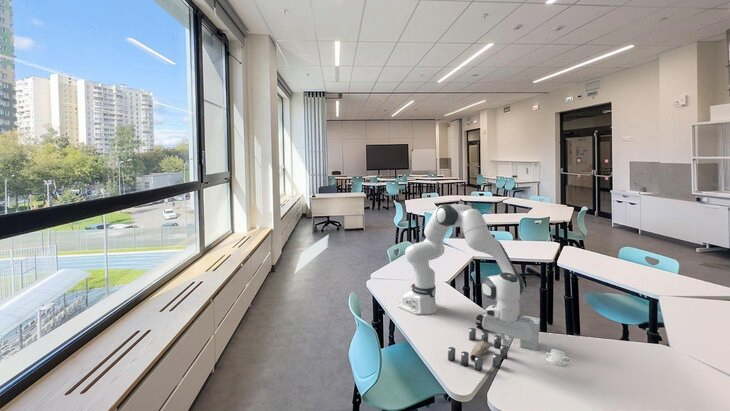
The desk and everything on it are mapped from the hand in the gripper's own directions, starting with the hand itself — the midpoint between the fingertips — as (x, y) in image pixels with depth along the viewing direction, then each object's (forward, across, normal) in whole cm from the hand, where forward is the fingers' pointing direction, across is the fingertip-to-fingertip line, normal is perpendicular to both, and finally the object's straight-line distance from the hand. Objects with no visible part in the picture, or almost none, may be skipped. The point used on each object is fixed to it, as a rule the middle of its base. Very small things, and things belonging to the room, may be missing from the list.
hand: (506, 344), depth 159 cm
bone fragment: (+9, +11, 0) cm, 15 cm away
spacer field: (+9, +10, 0) cm, 14 cm away
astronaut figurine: (+10, -16, -17) cm, 25 cm away
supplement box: (+9, -4, -21) cm, 23 cm away
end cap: (+9, +18, -27) cm, 33 cm away
